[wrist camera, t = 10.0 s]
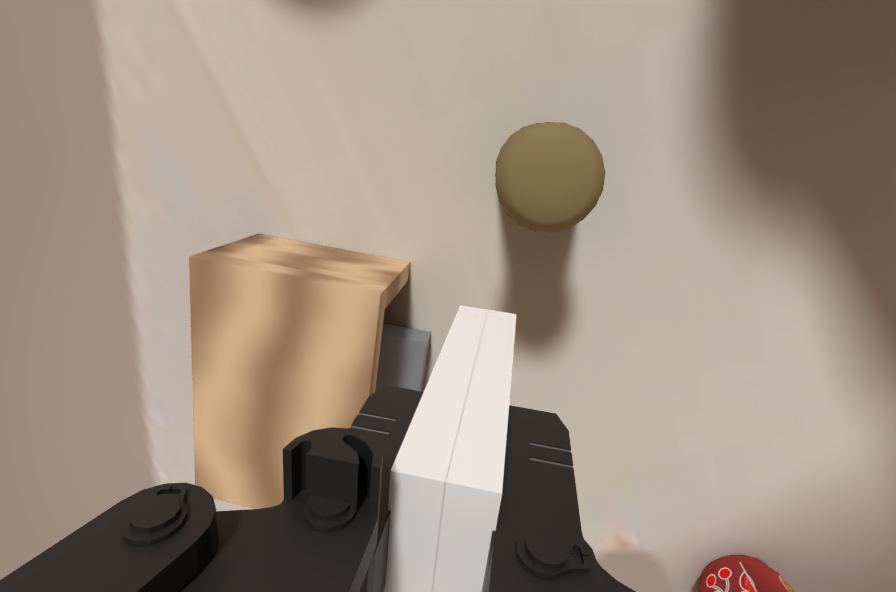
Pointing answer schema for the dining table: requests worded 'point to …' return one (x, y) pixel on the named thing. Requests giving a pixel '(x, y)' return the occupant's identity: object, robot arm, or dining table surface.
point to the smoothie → (741, 576)
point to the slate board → (402, 357)
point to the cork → (549, 176)
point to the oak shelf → (279, 354)
